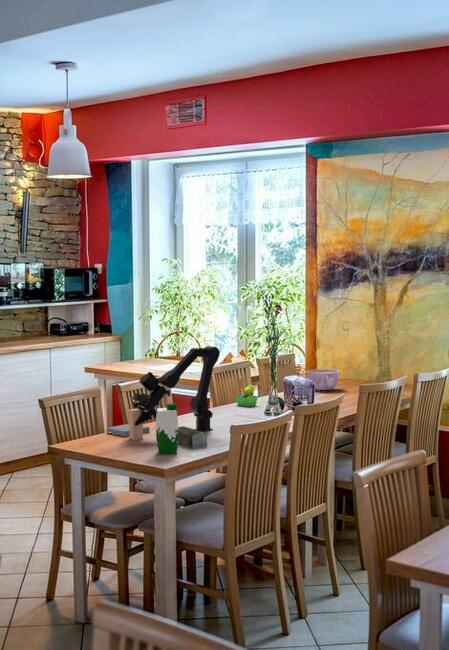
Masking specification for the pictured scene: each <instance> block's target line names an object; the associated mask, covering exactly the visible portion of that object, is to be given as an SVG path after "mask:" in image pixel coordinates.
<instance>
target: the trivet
mask: <svg viewBox="0 0 449 650" xmlns="http://www.w3.org/2000/svg"><path fill="white" fill-rule="evenodd" d="M150 431H151V430H150V426H145V425H143V435H144V434H147V433H148V434H149V433H150ZM109 432H111V433H113V434H112V435H114V434H116V435H115V436H118V435H119V436H120V437H123V436H124V437H123V438H127V437H130V433H129V423H126V424H120V425H116V426H110V427H106V434H109Z"/></svg>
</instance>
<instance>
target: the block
mask: <svg viewBox="0 0 449 650" xmlns="http://www.w3.org/2000/svg"><path fill="white" fill-rule="evenodd" d="M140 414H141V409H134V408H132V409H128V424H129V433H130V436H129V440H133V441H138V440H139V441H140V440H143V439H144V434H143V426H144V425H143V423H144V422H143V423H141V424H139V425H137V426H135V425H134V424H135V422H136V421H137V419H138V418H139V416H140Z"/></svg>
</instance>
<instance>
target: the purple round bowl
mask: <svg viewBox="0 0 449 650" xmlns="http://www.w3.org/2000/svg"><path fill="white" fill-rule="evenodd" d="M340 373H341V371H340V370H338V369H329V368H328V369H326V368H325V369H323V368H322V369H321V368H320V369H309V370H307V371H306V375H307V379H308V378H309V379H311V380H312V381H313V382H314V383H315V390H316V391H317V390H329V389H330V390H333V389H335V388H336V387H337V385H338V382H339V378H340Z"/></svg>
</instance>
